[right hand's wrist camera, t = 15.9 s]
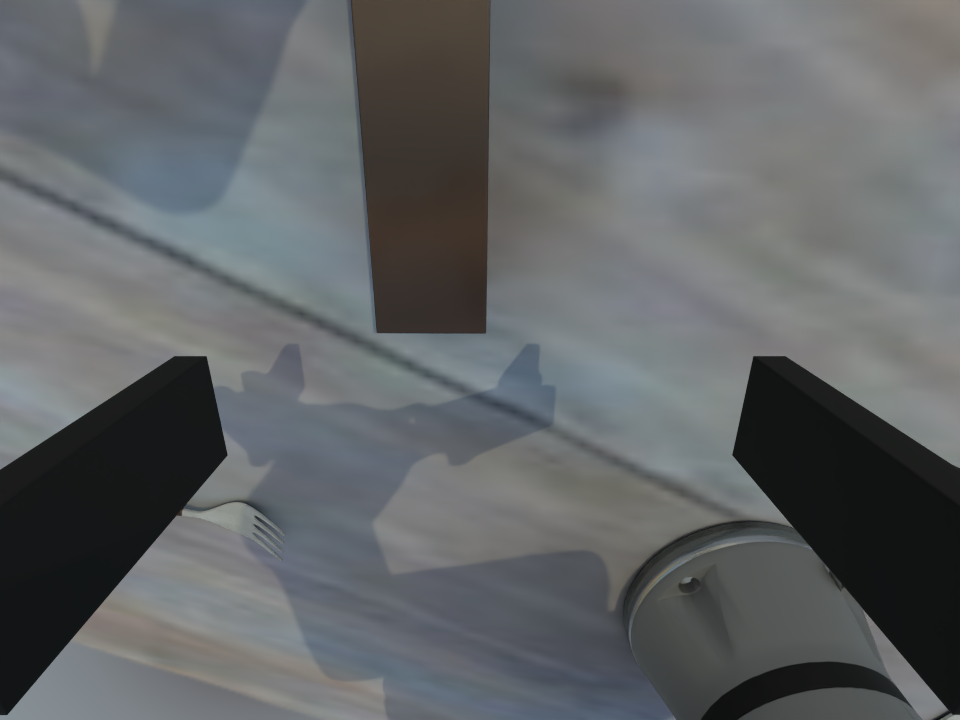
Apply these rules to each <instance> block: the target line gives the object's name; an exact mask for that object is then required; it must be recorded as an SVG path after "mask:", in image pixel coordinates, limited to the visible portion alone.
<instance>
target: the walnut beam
mask: <svg viewBox="0 0 960 720" xmlns="http://www.w3.org/2000/svg"><path fill="white" fill-rule="evenodd" d="M351 7H352V20H353V33H354V46H355V59H356V71H357V84H358V97H359V110H360V123H361V136H362V148H363V161H364V174H365V187H366V200H367V213H368V226H369V238H370V251H371V264H372V277H373V290H374V303H375V315H376V328H377V333H486V300H487V221H488V143H489V65H490V0H351Z"/></svg>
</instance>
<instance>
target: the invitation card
mask: <svg viewBox="0 0 960 720" xmlns="http://www.w3.org/2000/svg"><path fill="white" fill-rule="evenodd" d="M940 720H960V715H952V713H950V714H949V715H947V716H945V717H943V718H942V719H940Z"/></svg>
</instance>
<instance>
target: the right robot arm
mask: <svg viewBox="0 0 960 720" xmlns="http://www.w3.org/2000/svg"><path fill="white" fill-rule="evenodd" d="M226 456H227V450H226V446H225V441H224V436H223V431H222V427H221V422H220V417H219V413H218V408H217V403H216V399H215V394H214V389H213V384H212V380H211V375H210V370H209V366H208V361H207V356H174V357H173V358H171V359H170V360H168V361H167V362H165V363H164V364H162V365H161V366H159V367H157V368H156V369H154V370H153V371H151V372H150V373H148V374H147V375H145V376H144V377H142V378H141V379H139V380H137V381H136V382H134V383H133V384H131V385H130V386H128V387H127V388H125V389H124V390H122V391H121V392H119V393H118V394H116V395H114V396H113V397H111V398H110V399H108V400H107V401H105V402H104V403H102V404H101V405H99V406H98V407H96V408H94V409H93V410H91V411H90V412H88V413H87V414H85V415H84V416H82V417H81V418H79V419H78V420H76V421H74V422H73V423H71V424H70V425H68V426H67V427H65V428H64V429H62V430H61V431H59V432H58V433H56V434H55V435H53V436H51V437H50V438H48V439H47V440H45V441H44V442H42V443H41V444H39V445H38V446H36V447H35V448H33V449H31V450H30V451H28V452H27V453H25V454H24V455H22V456H21V457H19V458H18V459H16V460H15V461H13V462H11V463H10V464H8V465H7V466H5V467H4V468H2V469H1V470H0V715H8V713H9V712H10V711H11V710H12V709H13V708H14V706H15V705H16V704H17V703H18V702H19V700H20V699H21V698H22V697H23V696H24V695H25V693H26V692H27V691H28V690H29V689H30V687H31V686H32V685H33V684H34V683H35V682H36V680H37V679H38V678H39V677H40V676H41V675H42V673H43V672H44V671H45V670H46V669H47V667H48V666H49V665H50V664H51V663H52V662H53V660H54V659H55V658H56V657H57V656H58V654H59V653H60V652H61V651H62V650H63V649H64V647H65V646H66V645H67V644H68V643H69V642H70V640H71V639H72V638H73V637H74V636H75V634H76V633H77V632H78V631H79V630H80V629H81V627H82V626H83V625H84V624H85V623H86V621H87V620H88V619H89V618H90V617H91V616H92V614H93V613H94V612H95V611H96V610H97V609H98V607H99V606H100V605H101V604H102V603H103V601H104V600H105V599H106V598H107V597H108V596H109V594H110V593H111V592H112V591H113V590H114V588H115V587H116V586H117V585H118V584H119V583H120V581H121V580H122V579H123V578H124V577H125V576H126V574H127V573H128V572H129V571H130V570H131V568H132V567H133V566H134V565H135V564H136V563H137V561H138V560H139V559H140V558H141V557H142V555H143V554H144V553H145V552H146V551H147V550H148V548H149V547H150V546H151V545H152V544H153V542H154V541H155V540H156V539H157V538H158V537H159V535H160V534H161V533H162V532H163V531H164V530H165V528H166V527H167V526H168V525H169V524H170V522H171V521H172V520H173V519H174V518H175V517H176V515H177V514H178V513H179V512H180V511H181V509H182V508H183V507H184V506H185V505H186V504H187V502H188V501H189V500H190V499H191V498H192V497H193V495H194V494H195V493H196V492H197V491H198V489H199V488H200V487H201V486H202V485H203V484H204V482H205V481H206V480H207V479H208V478H209V476H210V475H211V474H212V473H213V472H214V471H215V469H216V468H217V467H218V466H219V465H220V464H221V462H222V461H223V460H224V459H225V458H226ZM733 456H734V458H735V459H736V460H737V461H738V462H739V464H740V465H741V466H742V467H743V468H744V469H745V471H746V472H747V473H748V474H749V475H750V476H751V478H752V479H753V480H754V481H755V482H756V484H757V485H758V486H759V487H760V488H761V489H762V491H763V492H764V493H765V494H766V495H767V497H768V498H769V499H770V500H771V501H772V502H773V504H774V505H775V506H776V507H777V508H778V509H779V511H780V512H781V513H782V514H783V515H784V517H785V518H786V519H787V520H788V521H789V522H790V524H791V525H792V526H793V527H794V528H795V529H794V528H790V527H787V526H783V525H779V524H773V523H765V522H740V523H732V524H726V525H720V526H716V527H712V528H708V529H705V530H702V531H699V532H697V533H694V534H692V535H689V536H687V537H685V538H683V539H681V540H679V541H677V542H675V543H674V544H672V545H670V546H669V547H667V548H666V549H664V550H663V551H662V552H660V553H659V554H657V555H656V556H655V557H654V558H653V559H652V560H651V561H649V562H648V564H647V565H646V566H645V567H644V568H643V569H642V570H641V571H640V573H639V574H638V575H637V576H636V578H635V580H634V581H633V583H632V585H631V587H630V589H629V590H628V593H627V596H626V599H625V603H624V610H623V621H624V626H625V630H626V633H627V637H628V640H629V643H630V647H631V650H632V653H633V656H634V658H635V660H636V662H637V663H638V665H639V666H640V668H641V669H642V671H643V672H644V674H645V675H646V676H647V678H648V679H649V681H650V682H651V684H652V685H653V687H654V688H655V689H656V691H657V692H658V694H659V695H660V697H661V698H662V700H663V701H664V702H665V704H666V705H667V707H668V708H669V710H670V711H671V712H672V714H673V715H674V717H675V718H676V720H922V719H921V717H920V716H919V715H918V714H917V713H916V711H915V710H914V709H913V708H912V706H911V705H910V704H909V702H908V701H907V700H906V698H905V697H904V696H903V694H902V693H901V692H900V691H899V689H898V688H897V687H896V685H895V684H894V682H893V681H892V680H891V678H890V677H889V675H888V673H887V671H886V669H885V667H884V664H883V661H882V659H881V656H880V654H879V651H878V649H877V646H876V644H875V641H874V638H873V636H872V633H871V631H870V628H869V626H868V623H867V620H866V618H865V615H864V613H863V610H864V611H865V612H866V613H867V614H868V616H869V617H870V618H871V619H872V620H873V621H874V623H875V624H876V625H877V626H878V627H879V629H880V630H881V631H882V632H883V633H884V634H885V636H886V637H887V638H888V639H889V640H890V642H891V643H892V644H893V645H894V646H895V647H896V649H897V650H898V651H899V652H900V653H901V654H902V656H903V657H904V658H905V659H906V660H907V662H908V663H909V664H910V665H911V666H912V667H913V669H914V670H915V671H916V672H917V673H918V675H919V676H920V677H921V678H922V679H923V680H924V682H925V683H926V684H927V685H928V686H929V687H930V689H931V690H932V691H933V692H934V693H935V695H936V696H937V697H938V698H939V699H940V700H941V702H942V703H943V704H944V705H945V706H946V708H947V709H948V710H949V711H950V712H951V713H952V715H960V468H958V467H956V466H954V465H952V464H950V463H949V462H947V461H945V460H944V459H942V458H941V457H939V456H938V455H936V454H935V453H933V452H932V451H930V450H929V449H927V448H925V447H924V446H922V445H921V444H919V443H918V442H916V441H915V440H913V439H912V438H910V437H909V436H907V435H905V434H904V433H902V432H901V431H899V430H898V429H896V428H895V427H893V426H892V425H890V424H889V423H887V422H886V421H884V420H882V419H881V418H879V417H878V416H876V415H875V414H873V413H872V412H870V411H869V410H867V409H866V408H864V407H862V406H861V405H859V404H858V403H856V402H855V401H853V400H852V399H850V398H849V397H847V396H846V395H844V394H842V393H841V392H839V391H838V390H836V389H835V388H833V387H832V386H830V385H829V384H827V383H826V382H824V381H822V380H821V379H819V378H818V377H816V376H815V375H813V374H812V373H810V372H809V371H807V370H806V369H804V368H803V367H801V366H799V365H798V364H796V363H795V362H793V361H792V360H790V359H789V358H787V357H786V356H753V361H752V366H751V370H750V375H749V380H748V384H747V389H746V394H745V399H744V403H743V408H742V413H741V417H740V422H739V427H738V431H737V436H736V441H735V446H734V450H733ZM862 609H863V610H862Z"/></svg>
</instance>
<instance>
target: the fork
mask: <svg viewBox="0 0 960 720" xmlns="http://www.w3.org/2000/svg"><path fill="white" fill-rule="evenodd" d="M177 515H178V516H189V517H196V518H201V519H204V520H207V521H210V522H213V523H215V524H217V525H220V526H222V527H224V528H227V529H229V530H231V531H234V532H236V533H238V534H241V535H243V536H245V537H247V538H250V539H251V540H253V541H255V542H257V543H258V544H259V545H261V546H262V547H264V548H265V549H266V550H268V551H269V552H270V553H271V554H273V555H274V556H275V557H276V558H277V559H278V560H279V561H282V558H281V557H280V556H279V555H278V554H277V553H275V552H274V551H273V550H272V549H271V548H270V547H269V546H268V545H266V544H265V543H264V542H263V541H261V540H260V539H259V538H258V537H256V536H255V535H254V534H253V532H254V533H256V534H258V535H259V536H261V537H262V538H263V539H265V540H266V541H267V542H269V543H270V544H271V545H273V546H274V547H275V548H276V549H277V550H279V551H280V552H281V553H282V552H283V550H282V549H281V548H280V547H279V546H278V545H277V544H276V543H274V542H273V541H272V540H271V539H270V538H269V537H267V536H266V535H265V534H264V533H263V532H261V531H260V530H259V529H257V528H256V527H255V526H254V524H255V525H257V526H259V527H260V528H262V529H263V530H265V531H266V532H267V533H269V534H270V535H271V536H273V537H274V538H275V539H277V540H278V541H279V542H280V543H281V544H284V542H283V540H281V539H280V538H279V537H278V536H277V535H276V534H275V533H274V532H272V531H271V530H270V529H269V528H268V527H266V526H265V525H264V524H263V523H261V522H260V521H259V520H258V519H256V518H255V516H257V517H259V518H261V519H262V520H264V521H265V522H266V523H268V524H269V525H270V526H272V527H273V528H274V529H276V530H277V531H278V532H279V533H281V534H282V535H283V536H285V533H284V532H283V531H282V530H281V529H280V528H279V527H277V526H276V525H275V524H274V523H273V522H272V521H270V520H269V519H268V518H267V517H265V516H264V515H263V514H261V513H260V512H259V511H257V510H256V509H254V508H253V507H251V506H249V505H247V504H245V503H242V502H231V503H227V504H224V505H221V506H218V507H215V508H213V509H210V510H206V511H194V510H190V509H186V508H182V509H181V511H180V512H179V513H178V514H177Z"/></svg>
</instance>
